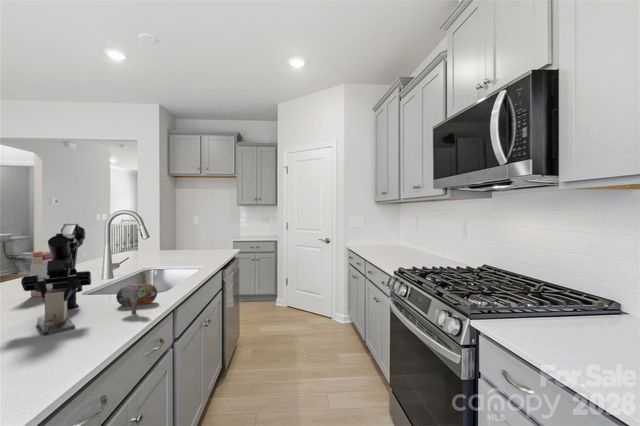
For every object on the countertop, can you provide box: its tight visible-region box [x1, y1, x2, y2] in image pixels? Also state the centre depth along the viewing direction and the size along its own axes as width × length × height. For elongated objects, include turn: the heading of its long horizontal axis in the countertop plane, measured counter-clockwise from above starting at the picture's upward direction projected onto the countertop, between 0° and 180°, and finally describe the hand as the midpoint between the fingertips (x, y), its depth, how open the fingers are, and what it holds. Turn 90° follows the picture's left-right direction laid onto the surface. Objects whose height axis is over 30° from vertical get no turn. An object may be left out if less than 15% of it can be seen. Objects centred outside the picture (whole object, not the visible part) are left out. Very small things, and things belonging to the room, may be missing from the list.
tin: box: [116, 283, 158, 307], centre depth 133 cm, size 15×3×8 cm, turn 111°
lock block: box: [44, 288, 68, 323], centre depth 107 cm, size 5×5×10 cm
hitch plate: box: [36, 316, 76, 336], centre depth 107 cm, size 14×8×2 cm, turn 49°
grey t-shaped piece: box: [120, 285, 147, 314], centre depth 122 cm, size 3×10×10 cm, turn 79°
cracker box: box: [30, 249, 53, 298], centre depth 148 cm, size 14×6×21 cm, turn 179°
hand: (55, 301), depth 106 cm, fingers closed on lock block, 5 cm apart
